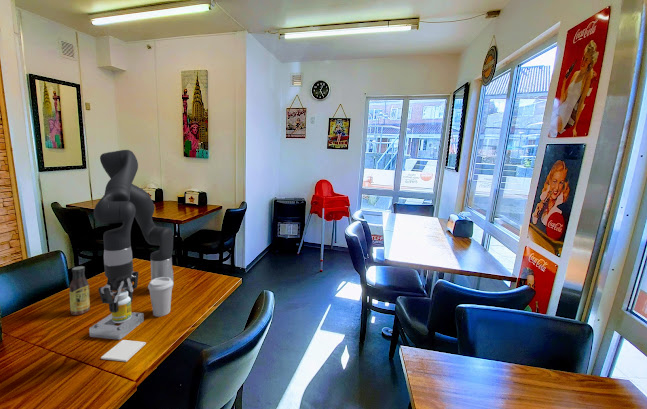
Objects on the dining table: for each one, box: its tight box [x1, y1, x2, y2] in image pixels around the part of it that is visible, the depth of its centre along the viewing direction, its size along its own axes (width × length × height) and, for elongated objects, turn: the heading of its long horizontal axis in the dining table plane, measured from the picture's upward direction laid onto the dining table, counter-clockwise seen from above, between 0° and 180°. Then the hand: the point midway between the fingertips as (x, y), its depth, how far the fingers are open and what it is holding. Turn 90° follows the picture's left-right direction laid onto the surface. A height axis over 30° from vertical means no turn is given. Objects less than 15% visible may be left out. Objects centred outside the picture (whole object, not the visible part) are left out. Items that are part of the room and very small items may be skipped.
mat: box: [100, 339, 147, 363], centre depth 93 cm, size 9×9×1 cm
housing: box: [88, 311, 145, 341], centre depth 104 cm, size 12×12×4 cm
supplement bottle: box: [111, 290, 132, 324], centre depth 91 cm, size 5×5×10 cm
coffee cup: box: [147, 277, 174, 318], centre depth 116 cm, size 10×10×15 cm
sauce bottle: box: [68, 265, 91, 316], centre depth 112 cm, size 7×6×20 cm
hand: (121, 306), depth 91 cm, fingers closed on supplement bottle, 5 cm apart
